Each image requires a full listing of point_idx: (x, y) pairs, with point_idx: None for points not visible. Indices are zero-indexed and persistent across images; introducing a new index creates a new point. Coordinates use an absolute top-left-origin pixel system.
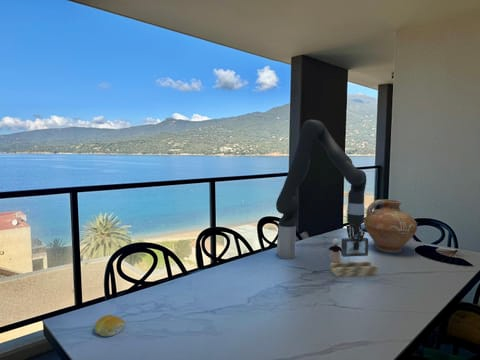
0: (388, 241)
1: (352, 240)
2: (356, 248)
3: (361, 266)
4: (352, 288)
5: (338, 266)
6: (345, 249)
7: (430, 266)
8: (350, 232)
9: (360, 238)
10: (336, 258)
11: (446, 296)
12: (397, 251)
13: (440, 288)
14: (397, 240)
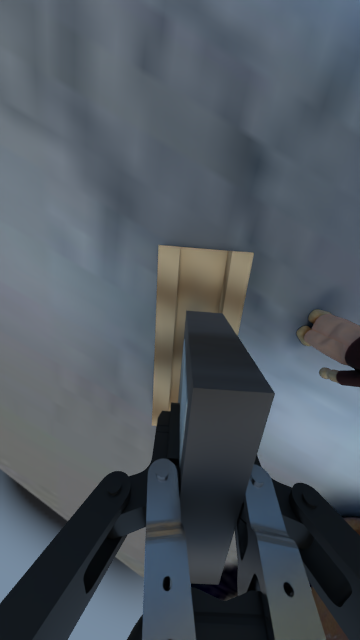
0: None
1: (181, 466)
2: (158, 420)
3: (170, 374)
4: (40, 246)
5: (223, 288)
6: (186, 344)
7: None
8: (279, 609)
9: (109, 553)
10: (322, 334)
11: (4, 463)
12: None
13: (52, 480)
14: (319, 606)
